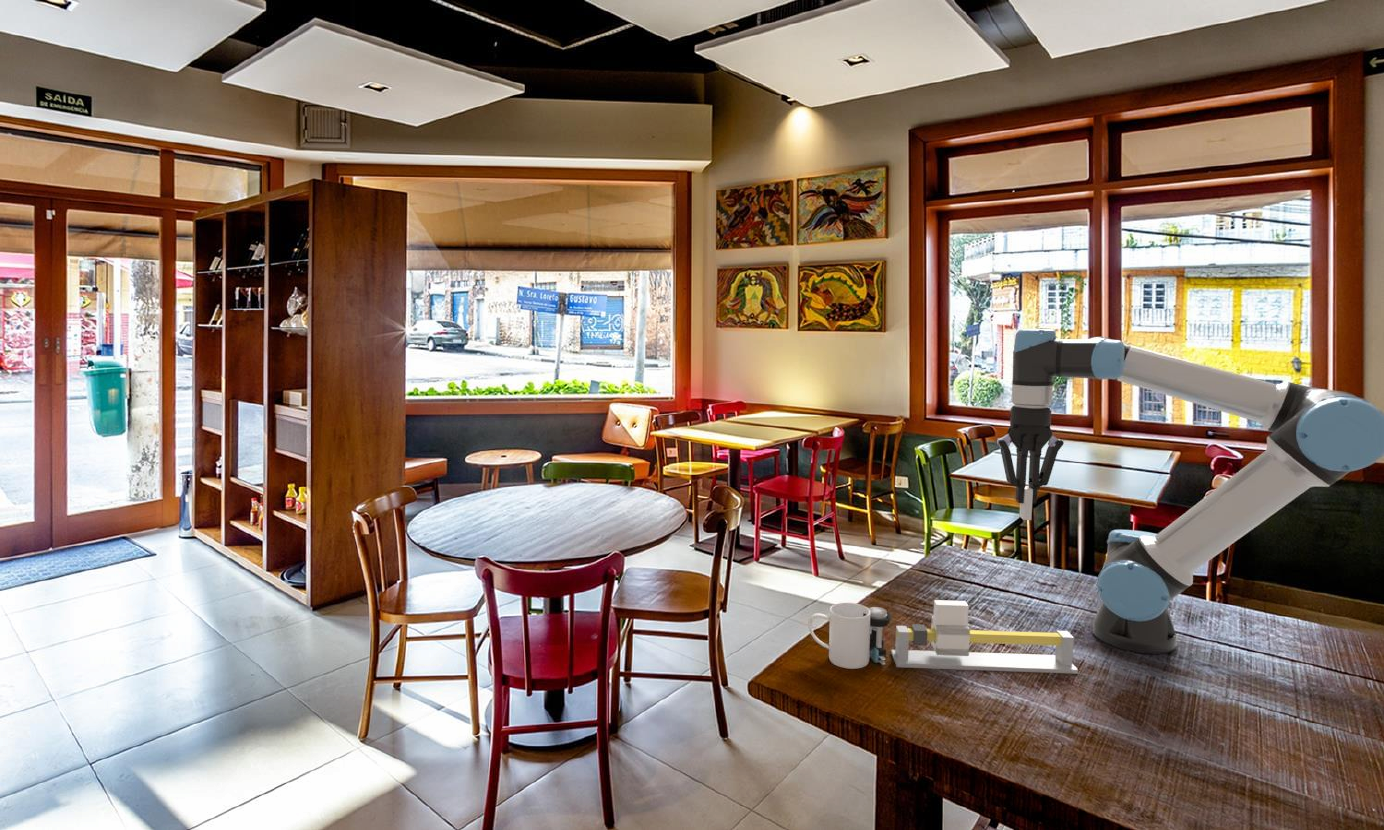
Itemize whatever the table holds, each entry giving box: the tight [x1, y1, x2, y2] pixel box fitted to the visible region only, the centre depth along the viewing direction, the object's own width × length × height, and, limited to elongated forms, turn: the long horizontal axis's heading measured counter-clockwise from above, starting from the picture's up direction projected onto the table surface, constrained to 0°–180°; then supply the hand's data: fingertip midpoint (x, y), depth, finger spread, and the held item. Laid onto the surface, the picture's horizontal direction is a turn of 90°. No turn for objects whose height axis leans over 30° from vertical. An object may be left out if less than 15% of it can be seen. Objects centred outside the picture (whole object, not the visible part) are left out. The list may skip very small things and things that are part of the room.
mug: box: [807, 602, 871, 670], centre depth 147 cm, size 12×8×10 cm, turn 92°
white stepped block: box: [930, 599, 971, 656], centre depth 146 cm, size 6×6×10 cm
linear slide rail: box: [890, 625, 1079, 675], centre depth 146 cm, size 34×6×7 cm, turn 84°
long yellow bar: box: [895, 623, 1062, 647], centre depth 146 cm, size 32×3×3 cm, turn 84°
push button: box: [863, 606, 892, 666], centre depth 148 cm, size 7×5×10 cm
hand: (1025, 518), depth 153 cm, fingers closed
